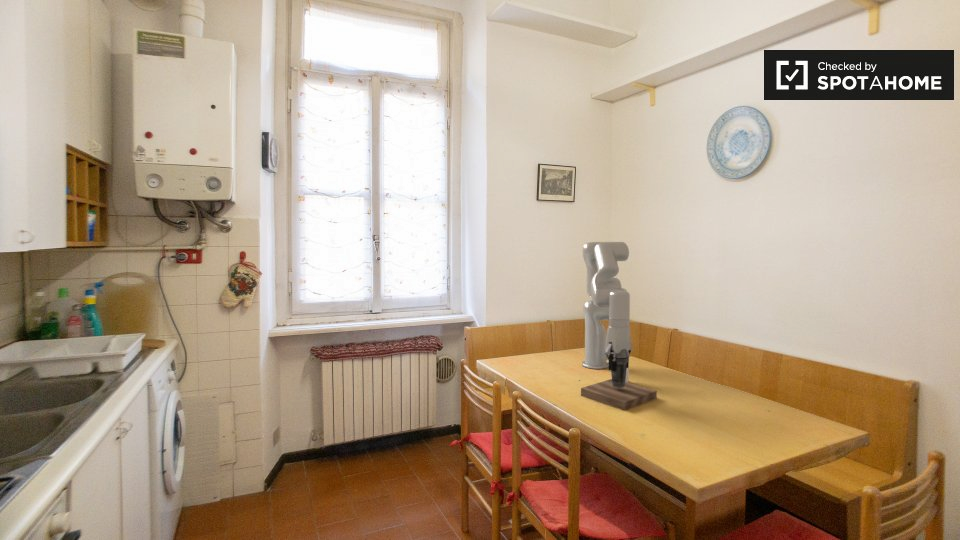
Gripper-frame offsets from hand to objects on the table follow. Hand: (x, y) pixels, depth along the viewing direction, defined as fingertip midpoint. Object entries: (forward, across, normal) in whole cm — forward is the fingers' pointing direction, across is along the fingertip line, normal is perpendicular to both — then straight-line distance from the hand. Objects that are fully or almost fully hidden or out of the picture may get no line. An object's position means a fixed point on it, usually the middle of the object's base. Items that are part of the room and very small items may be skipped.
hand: (618, 368), depth 178 cm
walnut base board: (+11, 0, 0) cm, 11 cm away
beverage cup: (+7, 0, 0) cm, 7 cm away
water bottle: (+11, -16, -11) cm, 22 cm away
